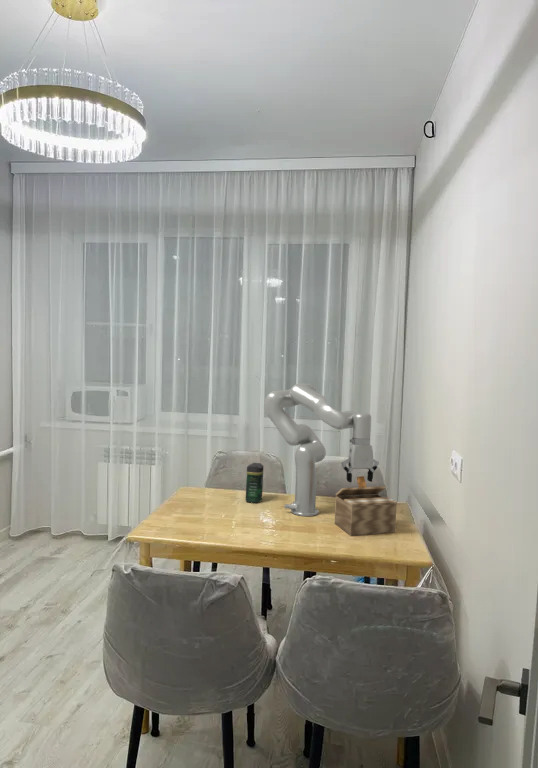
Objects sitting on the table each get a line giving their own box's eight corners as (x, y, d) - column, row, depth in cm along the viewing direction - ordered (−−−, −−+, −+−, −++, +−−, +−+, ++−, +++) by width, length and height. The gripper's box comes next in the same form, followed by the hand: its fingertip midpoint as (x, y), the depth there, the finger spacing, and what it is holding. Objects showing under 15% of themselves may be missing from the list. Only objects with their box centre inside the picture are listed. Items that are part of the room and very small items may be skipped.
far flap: (342, 489, 218) (339, 476, 220) (335, 495, 224) (333, 483, 227) (385, 488, 223) (382, 475, 226) (377, 494, 230) (374, 481, 232)
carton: (350, 536, 209) (352, 503, 209) (334, 523, 224) (335, 493, 224) (395, 533, 215) (396, 501, 214) (376, 521, 230) (377, 492, 230)
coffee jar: (259, 504, 251) (261, 465, 250) (243, 502, 253) (245, 464, 252) (263, 499, 261) (265, 462, 260) (248, 497, 262) (249, 461, 261)
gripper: (346, 443, 218) (344, 484, 219) (383, 443, 223) (381, 482, 224) (339, 440, 225) (337, 480, 226) (375, 440, 230) (373, 478, 231)
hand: (359, 481), depth 225 cm, fingers open, 9 cm apart
